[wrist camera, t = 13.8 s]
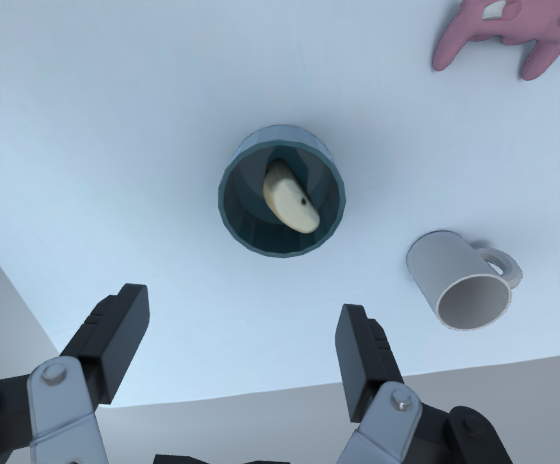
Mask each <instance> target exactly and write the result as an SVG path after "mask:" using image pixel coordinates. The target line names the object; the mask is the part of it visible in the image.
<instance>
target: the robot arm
mask: <svg viewBox="0 0 560 464" xmlns="http://www.w3.org/2000/svg"><path fill="white" fill-rule="evenodd" d="M149 318H150V312H149V301H148V290H147V286H146V285H141V284H130V283H126V284H125V285H124V286H123V287H122V289H121V290H120V292H119V293H118V295H109V296H107V297H106V298H105V299H103V300H102V301H100V302H99V303H98V304H97V305H96V306H95V308H94V309H93V310H92V312H91V313H90V316H88V317H87V319H86V320H85V321H84V324H82V325H81V327H80V328H79V330H78V331H77V332H76V334H75V335H74V336H73V338H72V339H71V340H70V342H69V343H68V344H67V346H66V347H65V349H64V350H63V351H62V353H61V354H60V355H59V357H55V358H52V359H49V360H47V361H45V362H44V363H42V364H40V365H39V366H38V367H36V368H35V369H34V370H33V371H32V373H31V374H27V375H23V376H18V377H12V378H6V379H1V380H0V464H5V463H6V462H7V460H8V458H9V457H10V455H11V453H12V452H13V450H16V449H20V448H24V447H28V446H30V454H31V463H32V464H109V463H108V459H107V455H106V452H105V448H104V445H103V441H102V438H101V434H100V430H99V427H98V423H97V420H96V416H95V413H94V412H95V411H96V409H97V407H98V405H99V404H109V405H110V404H111V402H112V400H113V398H114V396H115V394H116V392H117V390H118V388H119V386H120V384H121V382H122V380H123V377H124V375H125V373H126V371H127V369H128V367H129V365H130V363H131V361H132V359H133V357H134V355H135V353H136V351H137V349H138V346H139V344H140V342H141V340H142V338H143V336H144V334H145V332H146V330H147V327H148V324H149ZM335 346H336V351H337V356H338V361H339V366H340V371H341V376H342V381H343V386H344V391H345V396H346V401H347V407H348V411H349V417H350V421H351V422H355V423H360V425H359V427H358V428H357V429H355V431H354V432H353V434H352V436H351V437H350V439H349V441H348V443H347V445H346V447H345V448H344V450H343V452H342V454H341V455H340V457H339V459H338V461H337V462H336V464H513V463H512V461H511V459H510V457H509V456H508V454H507V452H506V450H505V448H504V446H503V444H502V442H501V440H500V438H499V436H498V435H497V433H496V431H495V429H494V427H493V426H492V425H491V423H490V422H489V421H488V420H487V419H486V418H485V417H484V416H483V415H482V414H480V413H479V412H477V411H476V410H474V409H471V408H469V407H464V406H457V407H454V408H453V409H452V410H451V411H450V413H447V412H444V411H442V410H439V409H436V408H434V407H430V406H428V405H426V404H424V403H422V402H421V400H420V399H419V397H418V396H417V394H416V393H415V392H414V391H413V390H412V389H411V388H409V387H408V386H406V385H405V384H404V382H403V379H402V376H401V374H400V371H399V369H398V366H397V363H396V361H395V358H394V356H393V353H392V351H391V348H390V345H389V343H388V342H387V337H386V335H385V332H384V330H383V328H382V327H381V326H380V325H379V324H378V322H377V321H376V320H375V319H368V318H367V316H366V313H365V310H364V307H363V306H362V305H353V304H344V305H343V307H342V310H341V314H340V318H339V321H338V325H337V329H336V333H335ZM153 464H208V463H206V462H203V461H200V460H198V459H195V458H192V457H190V456H174V455H158V454H156V455H155V458H154V462H153ZM245 464H290V462H273V461H254V462H249V463H245Z"/></svg>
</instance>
